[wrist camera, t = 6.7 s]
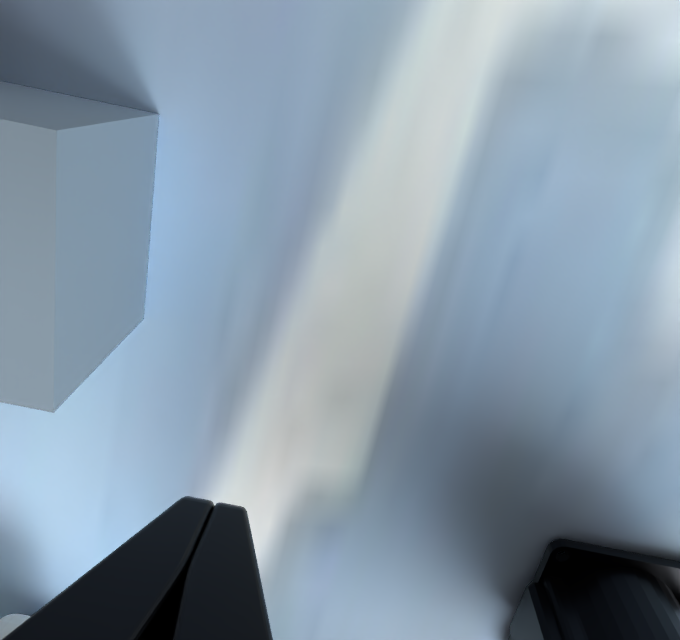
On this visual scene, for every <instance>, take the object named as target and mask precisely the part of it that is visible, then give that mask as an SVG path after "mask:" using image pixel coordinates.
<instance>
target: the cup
mask: <svg viewBox="0 0 680 640" xmlns="http://www.w3.org/2000/svg"><path fill="white" fill-rule="evenodd" d="M30 617H31V616H28V615H23V614H9V615H6V616H4V617H2V618H1V619H0V640H2V639H3V638H4V637H5V636H7V635H8V634H9V633H10V632H12V631H13V630H14V629H16V628H17V627H18V626H19V625H21V624H22V623H23V622H24V621H26V620H27V619H28V618H30Z"/></svg>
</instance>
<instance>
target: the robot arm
mask: <svg viewBox="0 0 680 640" xmlns="http://www.w3.org/2000/svg"><path fill="white" fill-rule="evenodd" d="M561 551H565V552H564V553H562V554H558V553H559V552H561ZM2 640H273V638H272V633H271V628H270V623H269V619H268V614H267V609H266V604H265V599H264V594H263V589H262V584H261V579H260V574H259V569H258V564H257V559H256V554H255V549H254V544H253V539H252V534H251V529H250V524H249V520H248V515H247V511H246V509H245V508H244V507H241V506H236V505H231V504H226V503H217V504H216V505H215V506H214V504H213V502H212V501H210V500H205V499H200V498H195V497H190V496H186V497H183V498H181V499H180V500H178V501H177V502H176V503H175V504H173V505H172V506H171V507H169V508H168V509H167V510H166V511H164V512H163V513H162V514H161V515H159V516H158V517H157V518H155V519H154V520H153V521H152V522H150V523H149V524H148V525H147V526H145V527H144V528H143V529H141V530H140V531H139V532H138V533H136V534H135V535H134V536H133V537H131V538H130V539H129V540H127V541H126V542H125V543H124V544H122V545H121V546H120V547H119V548H117V549H116V550H115V551H114V552H112V553H111V554H110V555H108V556H107V557H106V558H105V559H103V560H102V561H101V562H100V563H98V564H97V565H96V566H94V567H93V568H92V569H91V570H89V571H88V572H87V573H86V574H84V575H83V576H82V577H80V578H79V579H78V580H77V581H75V582H74V583H73V584H72V585H70V586H69V587H68V588H66V589H65V590H64V591H63V592H61V593H60V594H59V595H58V596H56V597H55V598H54V599H52V600H51V601H50V602H49V603H47V604H46V605H45V606H44V607H42V608H41V609H40V610H38V611H37V612H36V613H35V614H33V615H32V616H31V617H30V618H28V619H27V620H26V621H24V622H23V623H22V624H21V625H19V626H18V627H17V628H16V629H14V630H13V631H12V632H10V633H9V634H8V635H7V636H5V637H4V638H3V639H2ZM508 640H680V562H677V561H672V560H667V559H662V558H657V557H652V556H646V555H641V554H636V553H631V552H626V551H621V550H616V549H611V548H606V547H601V546H595V545H590V544H585V543H580V542H575V541H570V540H565V539H558V540H554V541H552V542H551V543H550V544H549V545H548V547H547V549H546V551H545V554H544V556H543V558H542V561H541V563H540V565H539V568H538V570H537V572H536V575H535V577H534V579H533V582H531V583H530V584H529V585H528V586H527V587H526V589H525V592H524V594H523V596H522V599H521V601H520V604H519V606H518V608H517V611H516V613H515V615H514V618H513V620H512V622H511V625H510V636H509V638H508Z"/></svg>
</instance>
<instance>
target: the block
mask: <svg viewBox="0 0 680 640" xmlns="http://www.w3.org/2000/svg"><path fill="white" fill-rule="evenodd" d="M158 123H159V114H157V113H152V112H147V111H142V110H138V109H133V108H128V107H123V106H119V105H114V104H109V103H104V102H99V101H95V100H90V99H85V98H80V97H76V96H71V95H66V94H61V93H56V92H52V91H47V90H42V89H37V88H33V87H28V86H23V85H18V84H13V83H9V82H4V81H0V402H2V403H7V404H12V405H18V406H23V407H28V408H33V409H38V410H43V411H48V412H53V413H54V412H55V411H56V410H57V409H58V408H59V406H60V405H61V404H62V403H63V402H64V401H65V400H66V399H67V398H68V397H69V396H70V395H71V394H72V393H73V392H74V391H75V390H76V389H77V388H78V387H79V386H80V385H81V384H82V383H83V382H84V380H85V379H86V378H87V377H88V376H89V375H90V374H91V373H92V372H93V371H94V370H95V369H96V368H97V367H98V366H99V365H100V364H101V363H102V362H103V361H104V360H105V359H106V358H107V357H108V356H109V354H110V353H111V352H112V351H113V350H114V349H115V348H116V347H117V346H118V345H119V344H120V343H121V342H122V341H123V340H124V339H125V338H126V337H127V336H128V335H129V334H130V333H131V332H132V331H133V330H134V329H135V327H136V326H137V325H138V324H139V323H140V322H141V321H142V320H143V319H144V311H145V297H146V284H147V271H148V257H149V244H150V231H151V217H152V204H153V190H154V177H155V164H156V150H157V137H158Z"/></svg>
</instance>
